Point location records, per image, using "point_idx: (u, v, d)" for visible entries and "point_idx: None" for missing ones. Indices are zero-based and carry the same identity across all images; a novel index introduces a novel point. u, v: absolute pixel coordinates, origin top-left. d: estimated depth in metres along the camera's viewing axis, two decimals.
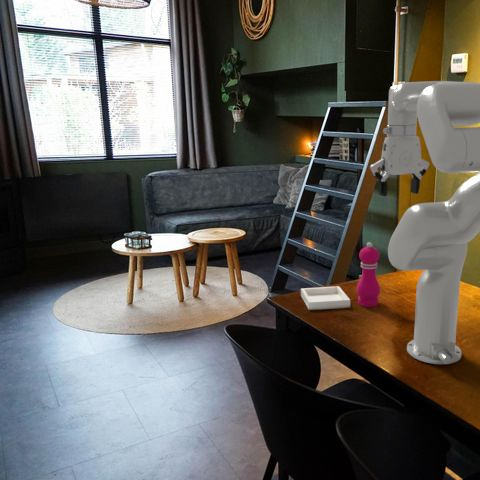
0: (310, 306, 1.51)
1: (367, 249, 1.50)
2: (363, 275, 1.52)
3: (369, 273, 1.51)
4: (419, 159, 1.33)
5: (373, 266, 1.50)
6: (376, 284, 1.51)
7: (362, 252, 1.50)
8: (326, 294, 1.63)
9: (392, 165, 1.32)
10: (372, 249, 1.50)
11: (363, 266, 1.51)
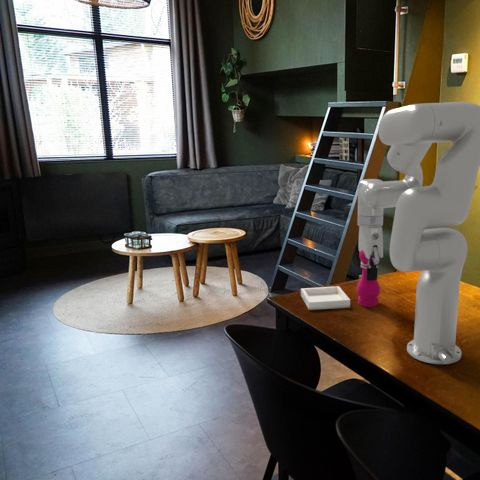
0: (310, 306, 1.51)
1: None
2: (363, 275, 1.52)
3: None
4: None
5: None
6: (376, 284, 1.51)
7: (362, 252, 1.50)
8: (326, 294, 1.63)
9: None
10: None
11: (363, 266, 1.51)
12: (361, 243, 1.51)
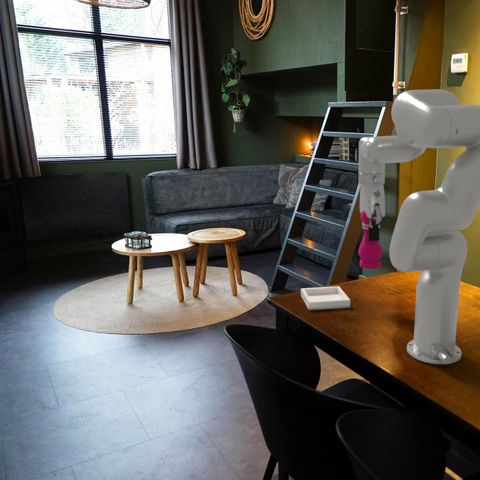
0: (310, 306, 1.51)
1: None
2: (365, 236, 1.49)
3: None
4: None
5: None
6: (378, 245, 1.48)
7: (363, 212, 1.47)
8: (326, 294, 1.63)
9: None
10: None
11: (365, 227, 1.48)
12: (362, 203, 1.48)
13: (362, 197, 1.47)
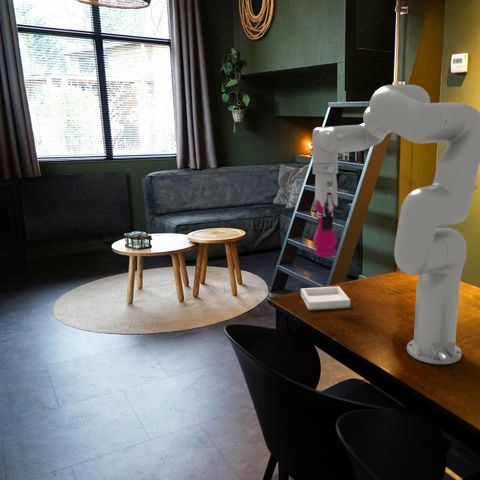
0: (310, 306, 1.51)
1: None
2: (319, 225, 1.51)
3: None
4: None
5: None
6: (332, 234, 1.51)
7: (317, 201, 1.49)
8: (326, 294, 1.63)
9: None
10: None
11: (319, 215, 1.50)
12: (317, 192, 1.50)
13: (316, 186, 1.50)
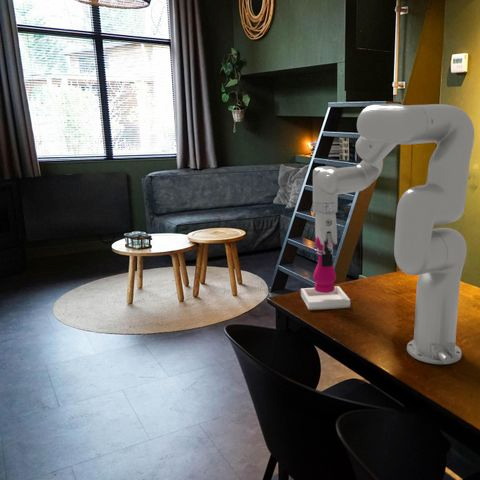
0: (310, 306, 1.51)
1: None
2: (319, 261, 1.54)
3: None
4: None
5: None
6: (331, 270, 1.54)
7: (317, 239, 1.52)
8: (326, 294, 1.63)
9: None
10: None
11: (319, 252, 1.53)
12: (316, 230, 1.53)
13: (316, 224, 1.53)
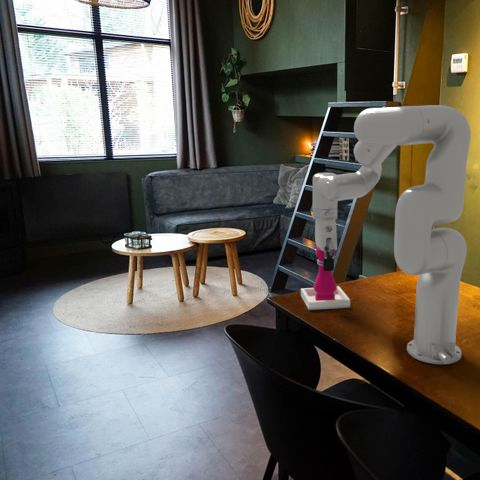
0: (310, 306, 1.51)
1: None
2: (319, 272, 1.55)
3: None
4: None
5: None
6: (332, 281, 1.54)
7: (318, 249, 1.53)
8: None
9: None
10: None
11: (319, 263, 1.54)
12: (316, 236, 1.53)
13: (316, 230, 1.53)
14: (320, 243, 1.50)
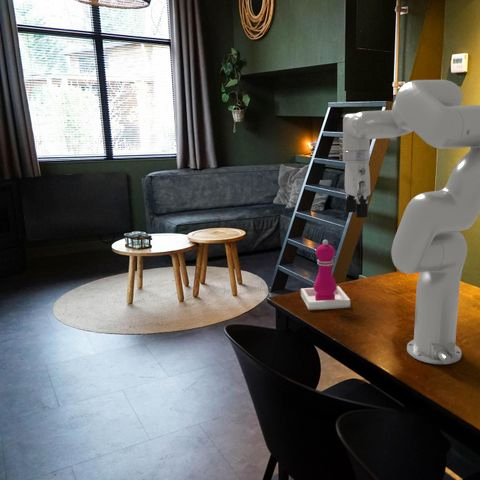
0: (310, 306, 1.51)
1: (323, 246, 1.52)
2: (319, 272, 1.55)
3: (325, 270, 1.54)
4: None
5: (329, 263, 1.53)
6: (332, 281, 1.54)
7: (318, 249, 1.53)
8: None
9: None
10: (327, 246, 1.52)
11: (319, 263, 1.54)
12: (347, 182, 1.45)
13: (347, 175, 1.44)
14: (352, 188, 1.41)
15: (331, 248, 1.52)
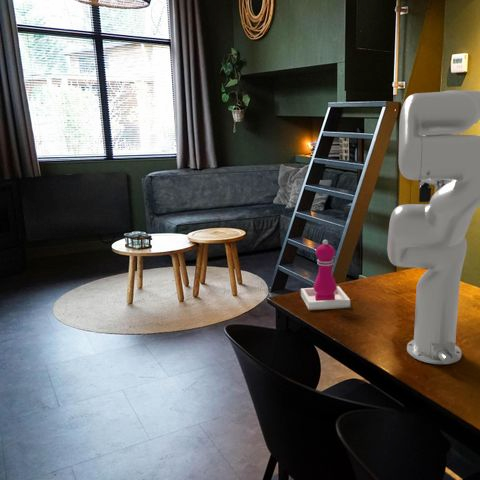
0: (310, 306, 1.51)
1: (323, 246, 1.52)
2: (319, 272, 1.55)
3: (325, 270, 1.54)
4: None
5: (328, 263, 1.53)
6: (332, 281, 1.54)
7: (318, 249, 1.53)
8: None
9: None
10: (327, 246, 1.52)
11: (319, 263, 1.54)
12: None
13: None
14: None
15: (331, 248, 1.52)
